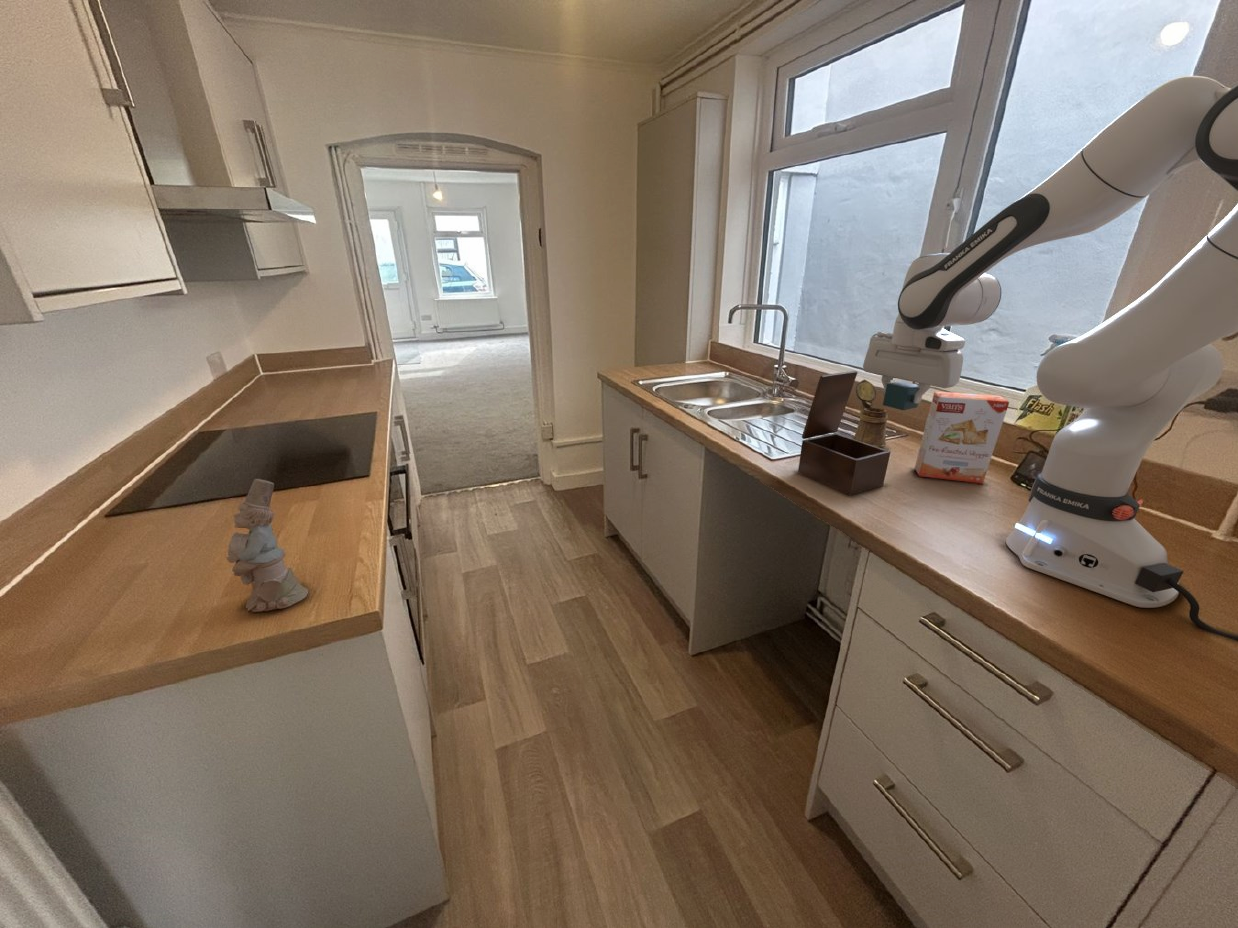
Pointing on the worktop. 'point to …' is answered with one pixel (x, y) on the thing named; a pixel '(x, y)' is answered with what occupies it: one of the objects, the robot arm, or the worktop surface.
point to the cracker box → (960, 436)
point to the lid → (829, 403)
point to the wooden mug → (870, 417)
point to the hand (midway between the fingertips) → (901, 399)
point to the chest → (843, 463)
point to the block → (900, 395)
